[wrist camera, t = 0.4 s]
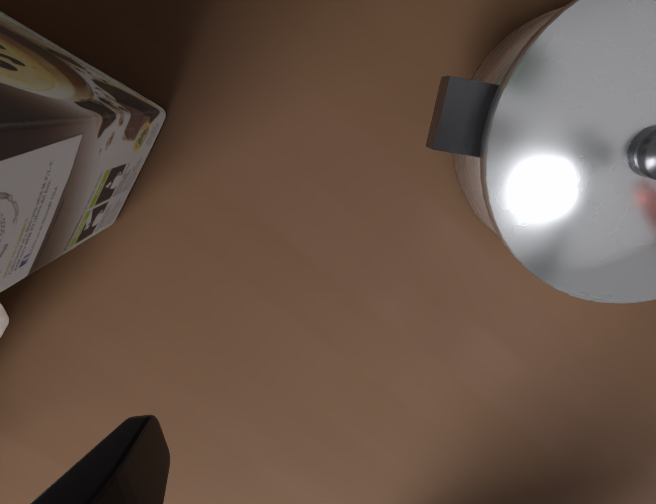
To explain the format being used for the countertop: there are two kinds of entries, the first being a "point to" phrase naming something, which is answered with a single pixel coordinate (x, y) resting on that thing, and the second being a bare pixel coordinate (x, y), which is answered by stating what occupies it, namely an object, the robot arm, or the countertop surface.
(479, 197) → the pot
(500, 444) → the countertop surface
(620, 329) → the countertop surface
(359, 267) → the countertop surface
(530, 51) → the lid
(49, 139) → the coffee box
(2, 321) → the banana
